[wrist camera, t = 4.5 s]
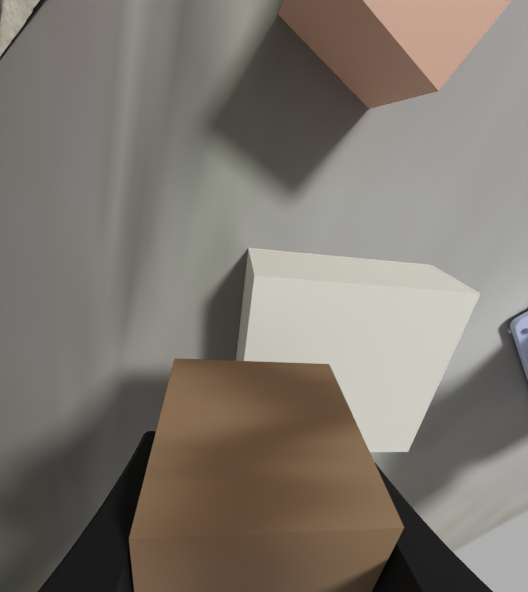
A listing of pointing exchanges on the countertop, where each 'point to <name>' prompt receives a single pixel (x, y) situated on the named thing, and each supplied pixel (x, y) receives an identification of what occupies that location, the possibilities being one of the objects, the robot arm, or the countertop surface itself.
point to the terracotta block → (391, 41)
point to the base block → (358, 331)
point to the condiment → (13, 19)
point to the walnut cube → (259, 486)
